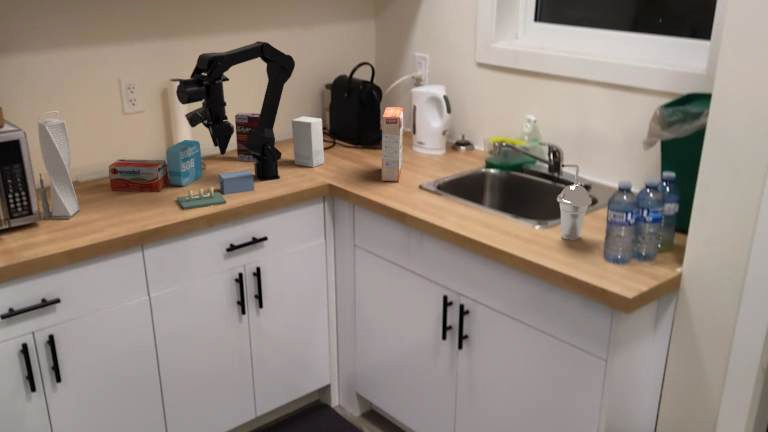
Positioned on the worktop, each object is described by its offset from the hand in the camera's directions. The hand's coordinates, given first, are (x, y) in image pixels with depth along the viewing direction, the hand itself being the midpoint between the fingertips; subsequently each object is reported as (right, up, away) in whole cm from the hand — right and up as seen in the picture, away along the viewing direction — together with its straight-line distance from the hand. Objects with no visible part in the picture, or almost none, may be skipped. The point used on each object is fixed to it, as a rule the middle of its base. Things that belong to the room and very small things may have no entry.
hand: (219, 150), depth 210 cm
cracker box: (+51, -6, +19) cm, 55 cm away
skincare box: (+23, -2, +30) cm, 38 cm away
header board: (-4, -15, -6) cm, 17 cm away
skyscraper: (-39, -19, -16) cm, 46 cm away
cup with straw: (+96, -25, -28) cm, 103 cm away
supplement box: (+3, 0, +34) cm, 34 cm away
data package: (-13, -9, +12) cm, 20 cm away
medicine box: (-26, -11, +6) cm, 28 cm away
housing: (+4, -12, +4) cm, 13 cm away
